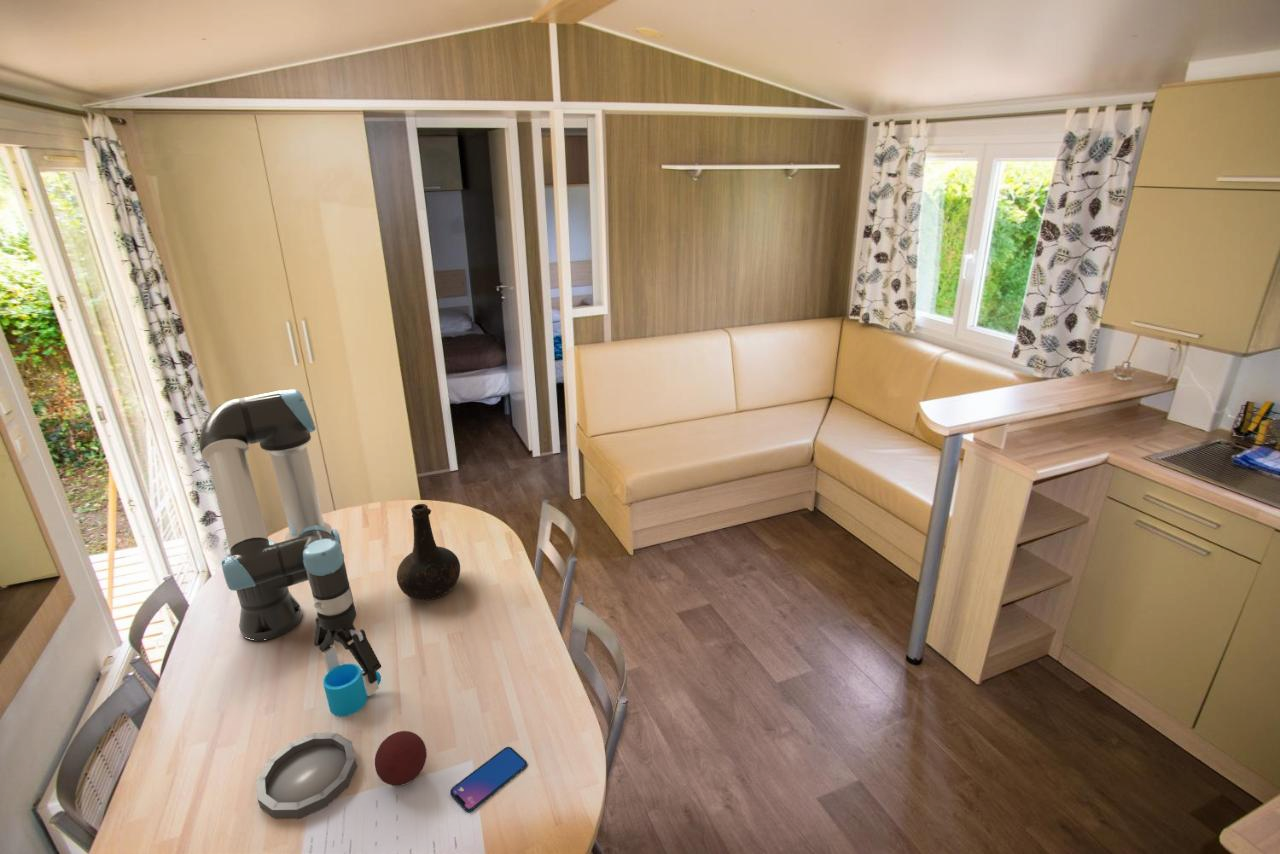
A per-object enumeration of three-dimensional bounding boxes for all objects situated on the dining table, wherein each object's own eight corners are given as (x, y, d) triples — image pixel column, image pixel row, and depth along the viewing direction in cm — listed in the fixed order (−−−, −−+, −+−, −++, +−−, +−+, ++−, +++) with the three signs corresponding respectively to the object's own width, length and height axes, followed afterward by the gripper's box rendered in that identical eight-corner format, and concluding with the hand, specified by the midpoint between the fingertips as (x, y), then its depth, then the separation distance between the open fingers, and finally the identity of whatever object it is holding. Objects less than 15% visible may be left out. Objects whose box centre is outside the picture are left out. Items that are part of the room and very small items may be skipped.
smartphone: (529, 763, 136) (468, 813, 125) (529, 766, 136) (468, 816, 126) (508, 744, 140) (447, 790, 130) (508, 747, 140) (448, 793, 130)
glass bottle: (405, 616, 180) (389, 530, 170) (396, 582, 195) (380, 501, 184) (469, 597, 188) (457, 514, 177) (455, 566, 203) (443, 487, 192)
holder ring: (240, 793, 130) (237, 784, 129) (319, 729, 145) (317, 721, 144) (296, 834, 122) (293, 825, 121) (374, 762, 137) (372, 754, 136)
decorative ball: (380, 804, 128) (371, 768, 124) (377, 764, 136) (369, 729, 132) (432, 786, 131) (425, 750, 127) (426, 748, 140) (420, 713, 136)
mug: (332, 722, 147) (325, 694, 144) (327, 698, 153) (320, 672, 150) (387, 699, 153) (381, 673, 150) (379, 678, 159) (374, 652, 156)
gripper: (284, 599, 145) (304, 673, 153) (358, 633, 134) (376, 712, 142) (314, 581, 151) (332, 653, 159) (387, 613, 140) (403, 689, 148)
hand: (353, 681), depth 150 cm, fingers open, 13 cm apart
